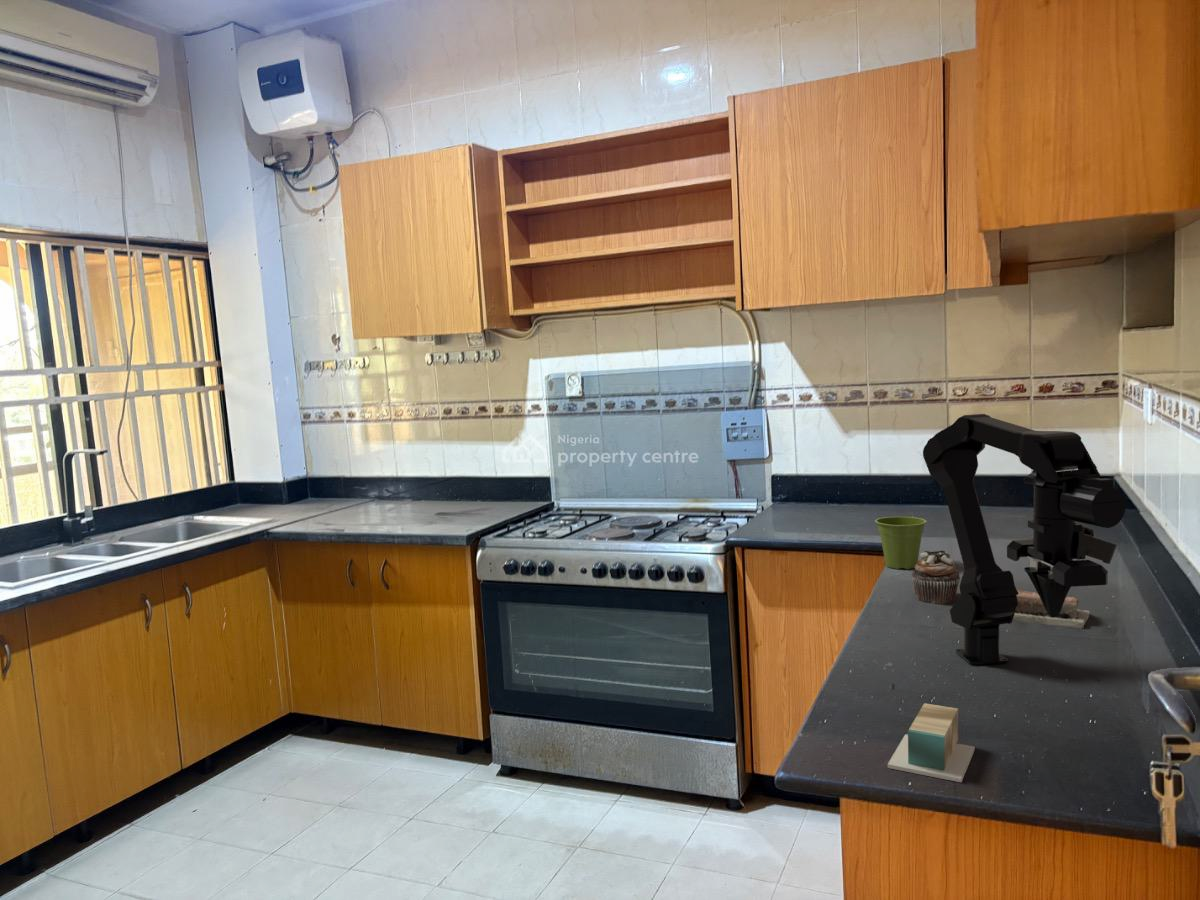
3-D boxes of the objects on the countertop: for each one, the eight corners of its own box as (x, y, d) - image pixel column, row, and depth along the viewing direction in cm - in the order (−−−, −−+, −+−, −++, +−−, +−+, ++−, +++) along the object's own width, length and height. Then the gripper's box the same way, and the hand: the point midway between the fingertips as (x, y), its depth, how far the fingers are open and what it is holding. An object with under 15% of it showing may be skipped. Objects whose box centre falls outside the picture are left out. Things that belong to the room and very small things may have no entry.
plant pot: (933, 563, 218) (932, 517, 217) (918, 574, 209) (918, 526, 208) (884, 558, 225) (884, 514, 224) (868, 568, 216) (867, 523, 215)
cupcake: (903, 594, 194) (903, 548, 193) (946, 591, 195) (946, 545, 193) (923, 606, 184) (923, 559, 183) (968, 603, 185) (968, 555, 184)
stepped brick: (980, 594, 176) (991, 582, 184) (980, 618, 176) (991, 605, 184) (1083, 605, 166) (1090, 592, 174) (1083, 631, 166) (1090, 617, 174)
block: (924, 703, 124) (907, 731, 116) (957, 708, 122) (943, 737, 113) (924, 733, 125) (908, 763, 116) (958, 739, 122) (943, 770, 114)
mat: (905, 737, 125) (905, 734, 125) (974, 750, 120) (974, 746, 120) (887, 767, 116) (887, 764, 116) (961, 782, 112) (961, 778, 112)
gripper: (1146, 525, 125) (1143, 633, 127) (1074, 502, 144) (1073, 597, 146) (1067, 529, 125) (1065, 637, 127) (1005, 506, 144) (1005, 600, 146)
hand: (1053, 616), depth 136 cm, fingers closed
